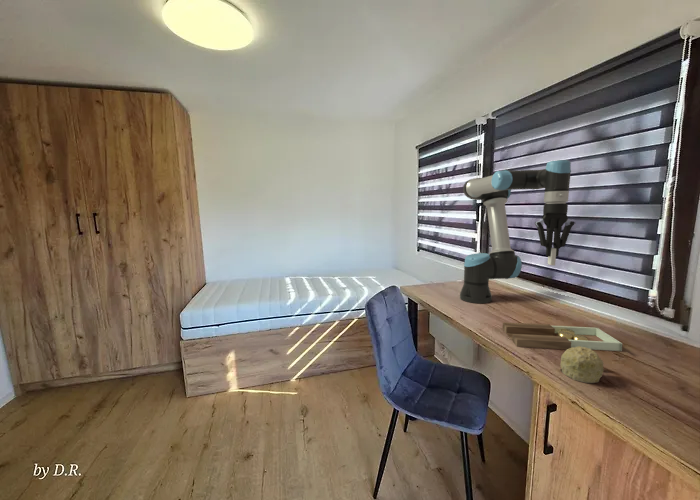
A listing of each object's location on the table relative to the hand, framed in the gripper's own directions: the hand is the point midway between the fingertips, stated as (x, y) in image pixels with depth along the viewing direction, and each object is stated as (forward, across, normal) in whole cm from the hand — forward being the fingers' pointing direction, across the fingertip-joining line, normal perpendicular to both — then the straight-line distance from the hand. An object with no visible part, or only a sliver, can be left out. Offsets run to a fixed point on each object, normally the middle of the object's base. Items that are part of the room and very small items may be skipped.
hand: (551, 264), depth 114 cm
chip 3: (+24, +2, -18) cm, 30 cm away
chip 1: (+24, +1, -13) cm, 27 cm away
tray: (+24, +4, -16) cm, 30 cm away
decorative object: (+25, -7, -37) cm, 45 cm away
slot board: (+24, -11, -16) cm, 31 cm away
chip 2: (+24, -1, -16) cm, 29 cm away
